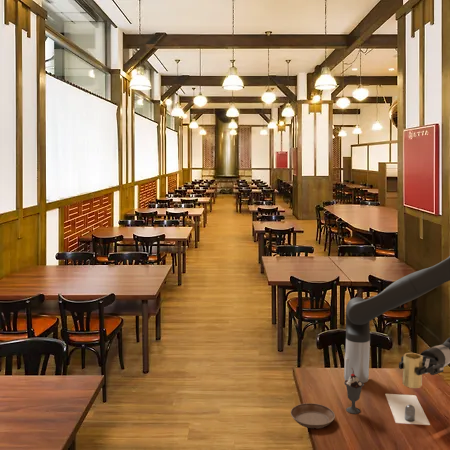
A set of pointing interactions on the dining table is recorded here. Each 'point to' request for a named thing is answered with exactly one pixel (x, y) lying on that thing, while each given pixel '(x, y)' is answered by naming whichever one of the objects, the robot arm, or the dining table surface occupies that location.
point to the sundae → (353, 392)
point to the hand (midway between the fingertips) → (408, 369)
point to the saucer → (312, 415)
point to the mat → (398, 408)
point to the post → (410, 413)
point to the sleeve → (412, 370)
